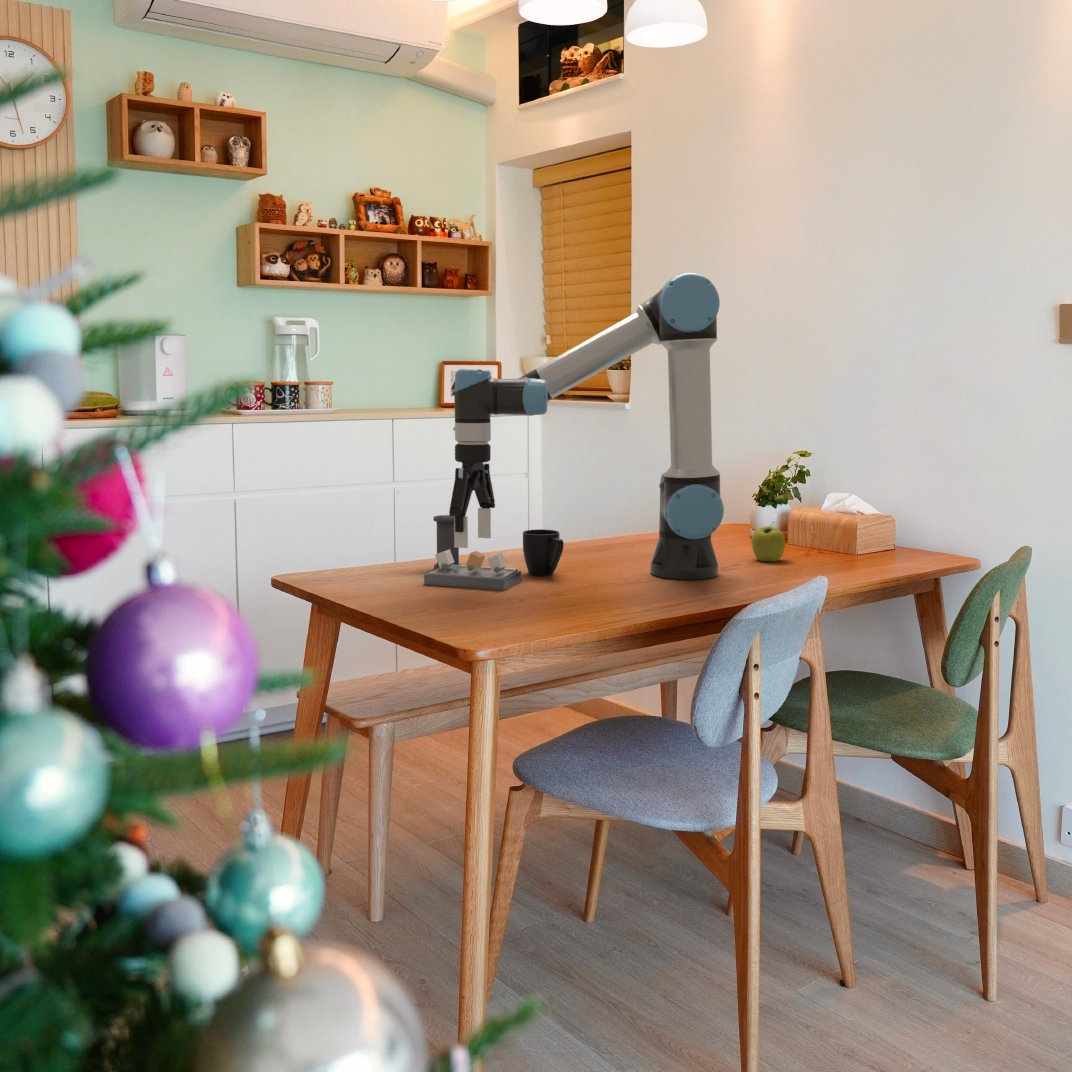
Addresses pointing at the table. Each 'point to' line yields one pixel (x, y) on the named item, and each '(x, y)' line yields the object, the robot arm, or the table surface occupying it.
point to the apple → (768, 543)
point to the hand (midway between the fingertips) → (473, 542)
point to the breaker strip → (473, 577)
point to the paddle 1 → (445, 559)
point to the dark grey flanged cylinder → (446, 537)
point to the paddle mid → (475, 561)
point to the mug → (542, 551)
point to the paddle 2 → (497, 562)
